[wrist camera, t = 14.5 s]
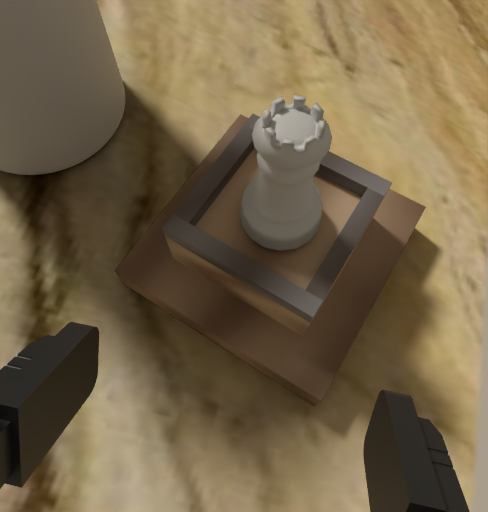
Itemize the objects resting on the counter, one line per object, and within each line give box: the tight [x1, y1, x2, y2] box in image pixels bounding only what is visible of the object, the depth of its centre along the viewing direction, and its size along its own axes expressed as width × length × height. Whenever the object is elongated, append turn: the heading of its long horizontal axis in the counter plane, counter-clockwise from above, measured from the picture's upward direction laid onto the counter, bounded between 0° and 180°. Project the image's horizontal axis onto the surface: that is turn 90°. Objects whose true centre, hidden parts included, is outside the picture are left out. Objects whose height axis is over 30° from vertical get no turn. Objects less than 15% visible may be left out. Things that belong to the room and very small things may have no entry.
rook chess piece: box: [240, 95, 332, 251], centre depth 21 cm, size 4×4×8 cm
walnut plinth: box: [115, 114, 426, 406], centre depth 27 cm, size 14×14×6 cm
